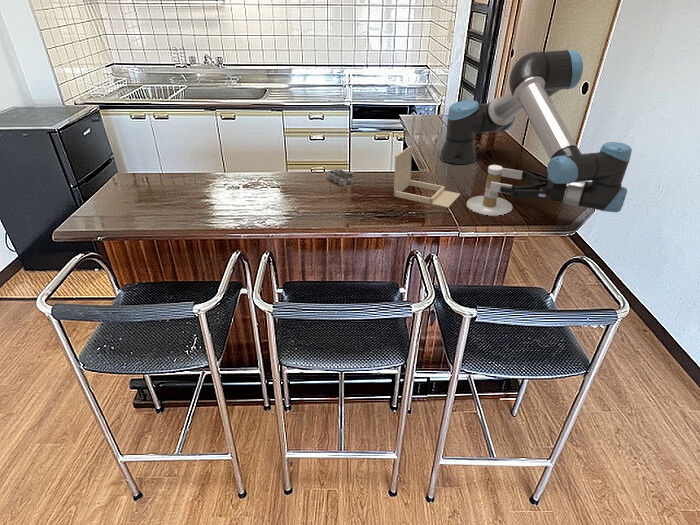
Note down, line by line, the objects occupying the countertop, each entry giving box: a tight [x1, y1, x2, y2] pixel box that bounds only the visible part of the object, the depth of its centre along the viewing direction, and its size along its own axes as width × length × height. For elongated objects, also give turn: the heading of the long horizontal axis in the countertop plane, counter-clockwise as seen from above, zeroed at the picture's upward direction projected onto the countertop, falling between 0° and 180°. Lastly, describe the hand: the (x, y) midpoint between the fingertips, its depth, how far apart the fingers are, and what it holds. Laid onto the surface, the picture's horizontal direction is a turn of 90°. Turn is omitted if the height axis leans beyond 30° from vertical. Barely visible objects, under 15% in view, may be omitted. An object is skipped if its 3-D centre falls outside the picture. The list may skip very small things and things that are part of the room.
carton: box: [393, 145, 461, 209], centre depth 154 cm, size 21×13×15 cm, turn 59°
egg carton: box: [327, 168, 356, 186], centre depth 171 cm, size 11×8×4 cm
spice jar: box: [483, 164, 504, 207], centre depth 145 cm, size 5×5×14 cm
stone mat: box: [466, 195, 513, 217], centre depth 149 cm, size 15×15×1 cm
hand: (496, 178), depth 142 cm, fingers open, 13 cm apart
